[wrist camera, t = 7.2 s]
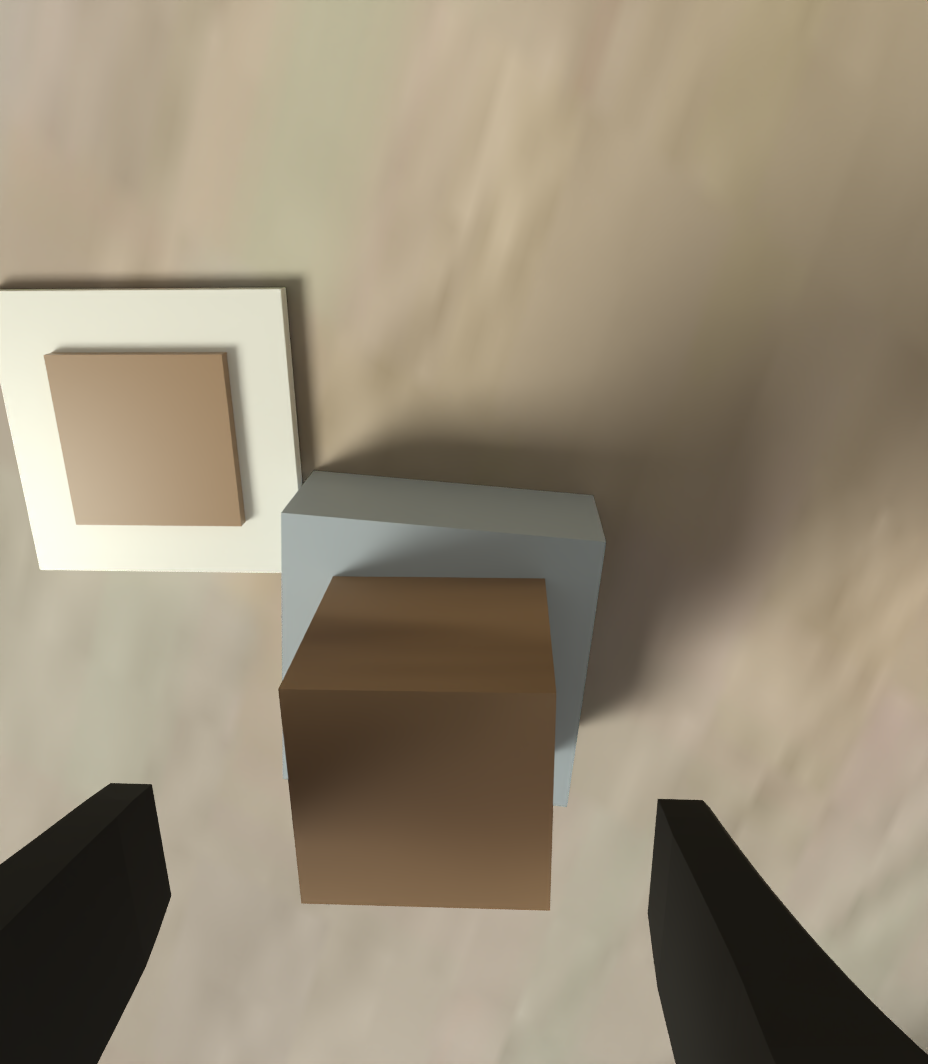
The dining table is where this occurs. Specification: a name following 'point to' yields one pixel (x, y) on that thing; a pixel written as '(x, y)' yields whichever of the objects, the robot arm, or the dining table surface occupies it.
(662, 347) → the dining table surface
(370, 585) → the walnut cube
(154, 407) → the swatch
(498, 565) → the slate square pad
